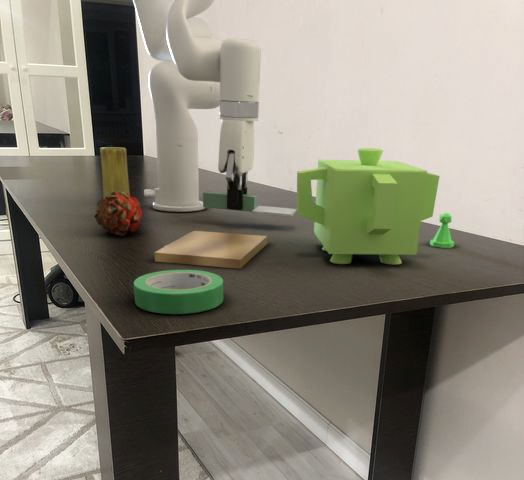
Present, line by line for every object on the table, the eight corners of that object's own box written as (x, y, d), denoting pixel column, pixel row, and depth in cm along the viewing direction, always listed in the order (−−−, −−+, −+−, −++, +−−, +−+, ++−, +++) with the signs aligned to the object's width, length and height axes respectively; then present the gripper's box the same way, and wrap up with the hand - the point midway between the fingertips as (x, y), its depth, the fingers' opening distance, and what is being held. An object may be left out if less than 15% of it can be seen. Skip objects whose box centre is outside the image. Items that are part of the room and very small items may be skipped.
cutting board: (154, 261, 89) (154, 252, 88) (194, 238, 105) (193, 230, 104) (240, 269, 86) (240, 259, 85) (267, 244, 102) (267, 236, 101)
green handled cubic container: (287, 238, 106) (291, 142, 100) (404, 240, 108) (416, 145, 101) (303, 274, 83) (310, 152, 77) (452, 275, 85) (471, 156, 78)
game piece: (453, 248, 102) (459, 215, 100) (429, 246, 103) (434, 213, 101) (453, 243, 106) (458, 211, 103) (430, 242, 107) (434, 209, 104)
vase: (118, 220, 119) (112, 149, 113) (97, 217, 122) (91, 147, 116) (138, 216, 124) (134, 148, 118) (118, 213, 127) (113, 146, 121)
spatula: (200, 208, 115) (200, 193, 114) (209, 203, 121) (209, 189, 119) (290, 217, 112) (291, 201, 110) (296, 211, 117) (297, 197, 116)
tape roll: (126, 292, 74) (124, 273, 72) (205, 284, 78) (205, 265, 77) (147, 320, 64) (146, 297, 63) (236, 308, 69) (236, 287, 68)
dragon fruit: (118, 249, 102) (116, 244, 113) (155, 219, 103) (149, 218, 114) (86, 210, 99) (87, 209, 110) (123, 180, 100) (121, 183, 111)
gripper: (232, 110, 117) (230, 200, 124) (207, 111, 102) (207, 213, 110) (267, 112, 115) (263, 203, 123) (247, 114, 101) (243, 217, 109)
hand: (236, 207), depth 116 cm, fingers closed on spatula, 2 cm apart
